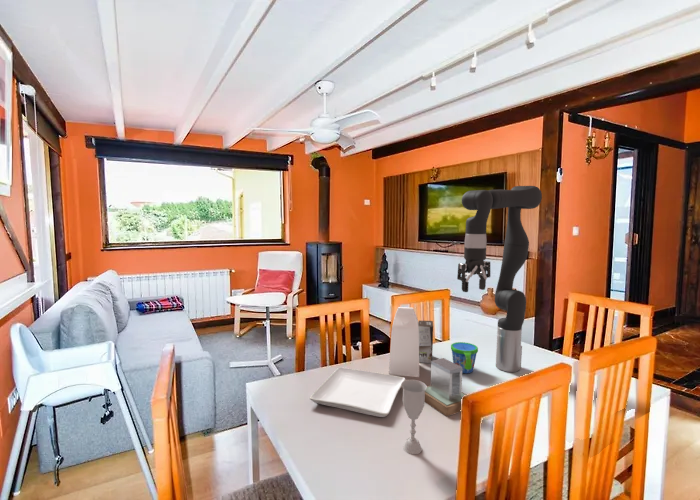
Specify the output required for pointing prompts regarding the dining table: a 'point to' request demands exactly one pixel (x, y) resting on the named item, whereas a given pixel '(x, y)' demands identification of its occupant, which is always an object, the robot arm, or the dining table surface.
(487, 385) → the dining table surface
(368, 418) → the dining table surface
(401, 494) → the dining table surface
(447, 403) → the wooden tray
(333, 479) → the dining table surface
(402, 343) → the milk
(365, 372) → the square plate
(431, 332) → the coffee box
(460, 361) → the snack cup
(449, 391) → the housing
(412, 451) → the chalice
